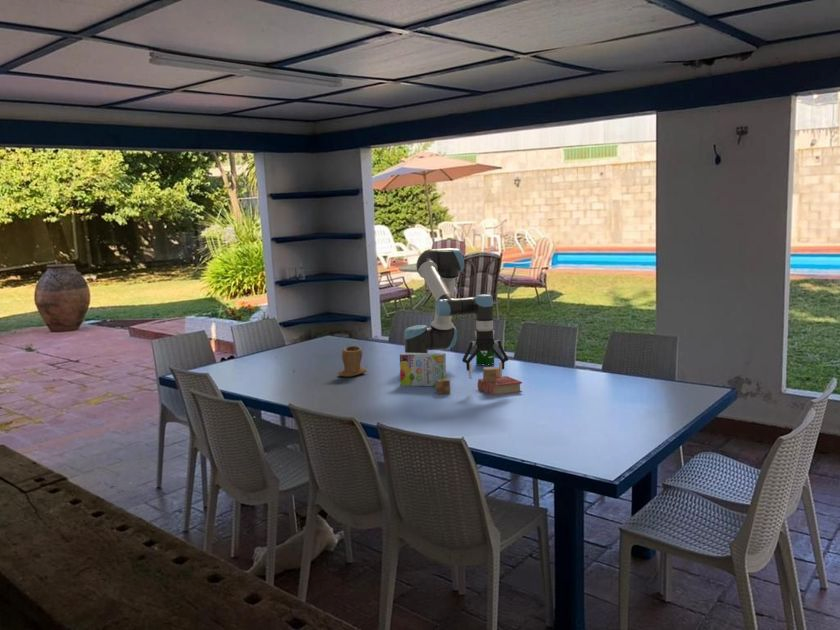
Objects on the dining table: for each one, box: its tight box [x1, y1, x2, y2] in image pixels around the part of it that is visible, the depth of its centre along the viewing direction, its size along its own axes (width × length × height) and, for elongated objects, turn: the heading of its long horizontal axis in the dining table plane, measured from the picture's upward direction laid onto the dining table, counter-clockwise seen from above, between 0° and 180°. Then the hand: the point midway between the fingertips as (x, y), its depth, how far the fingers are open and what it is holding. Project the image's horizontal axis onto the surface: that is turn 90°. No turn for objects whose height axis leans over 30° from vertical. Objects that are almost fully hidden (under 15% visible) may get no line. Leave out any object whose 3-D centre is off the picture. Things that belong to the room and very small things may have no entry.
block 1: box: [435, 378, 451, 396], centre depth 322 cm, size 5×5×6 cm
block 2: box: [482, 366, 496, 383], centre depth 322 cm, size 5×5×6 cm
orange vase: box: [337, 345, 368, 378], centre depth 365 cm, size 15×12×15 cm
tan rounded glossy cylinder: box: [494, 366, 500, 377], centre depth 334 cm, size 7×7×8 cm
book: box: [477, 375, 523, 396], centre depth 324 cm, size 14×15×5 cm
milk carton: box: [474, 330, 495, 366], centre depth 384 cm, size 9×9×20 cm
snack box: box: [399, 352, 447, 387], centre depth 339 cm, size 21×6×15 cm, turn 74°
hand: (485, 377), depth 321 cm, fingers open, 13 cm apart
